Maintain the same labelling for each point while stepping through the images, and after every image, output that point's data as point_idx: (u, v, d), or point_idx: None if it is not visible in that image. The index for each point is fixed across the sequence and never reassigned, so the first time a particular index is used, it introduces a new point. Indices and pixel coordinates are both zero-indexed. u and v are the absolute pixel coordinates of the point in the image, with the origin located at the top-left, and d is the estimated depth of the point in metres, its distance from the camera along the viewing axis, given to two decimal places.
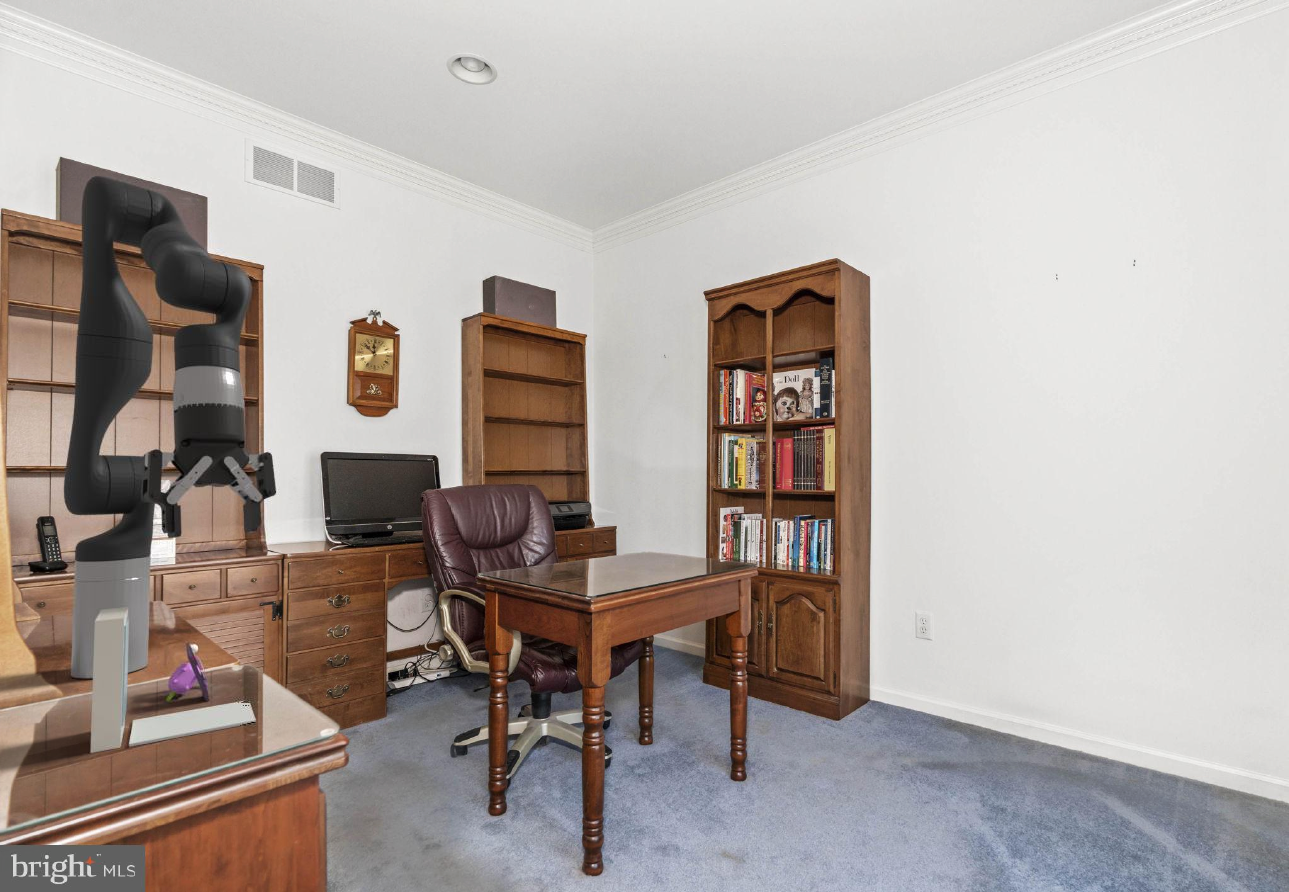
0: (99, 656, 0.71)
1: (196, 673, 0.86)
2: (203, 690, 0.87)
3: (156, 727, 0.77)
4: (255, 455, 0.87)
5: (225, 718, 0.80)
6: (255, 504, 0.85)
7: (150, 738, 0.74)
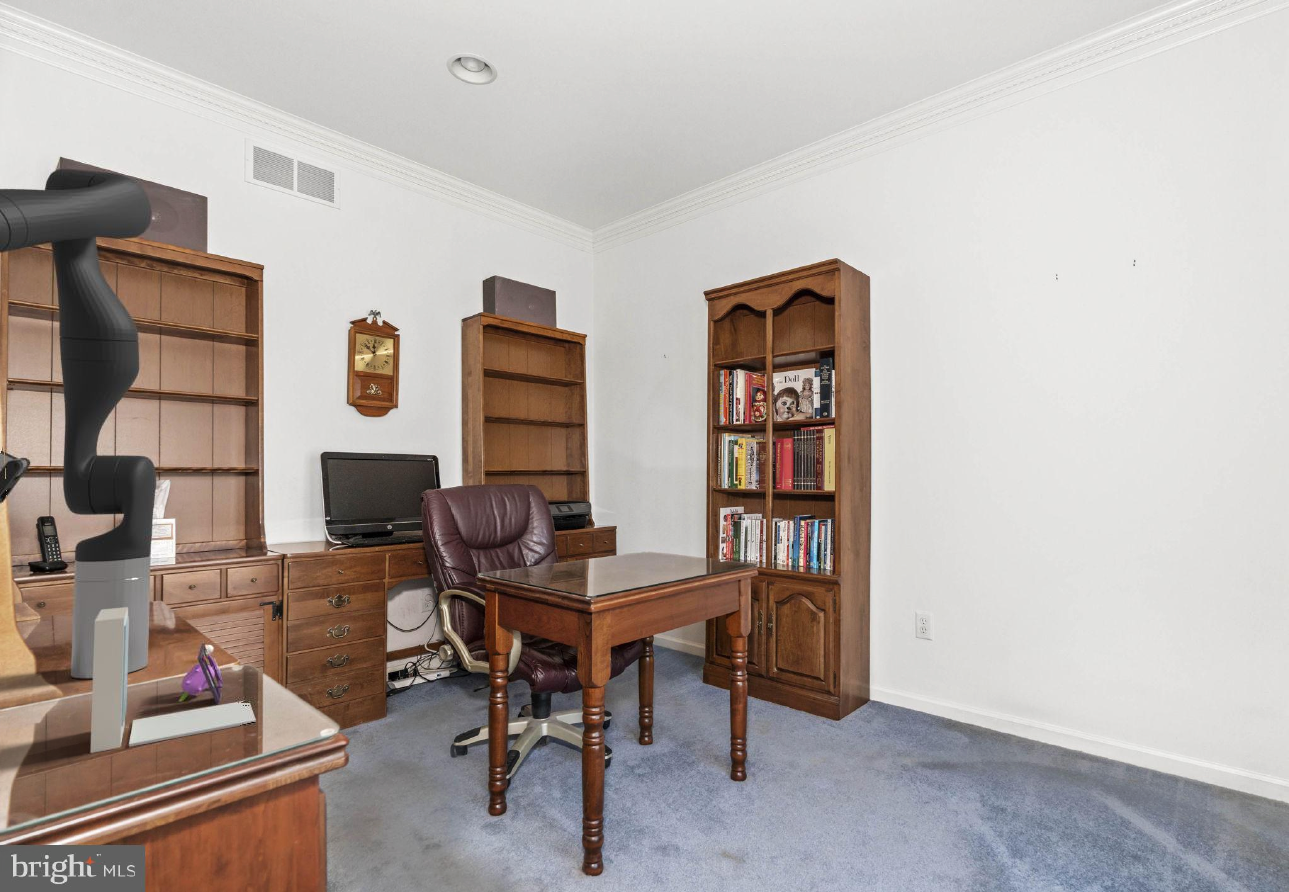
0: (98, 656, 0.71)
1: (206, 675, 0.85)
2: (213, 692, 0.86)
3: (156, 727, 0.77)
4: (6, 456, 0.73)
5: (225, 718, 0.80)
6: None
7: (150, 738, 0.74)
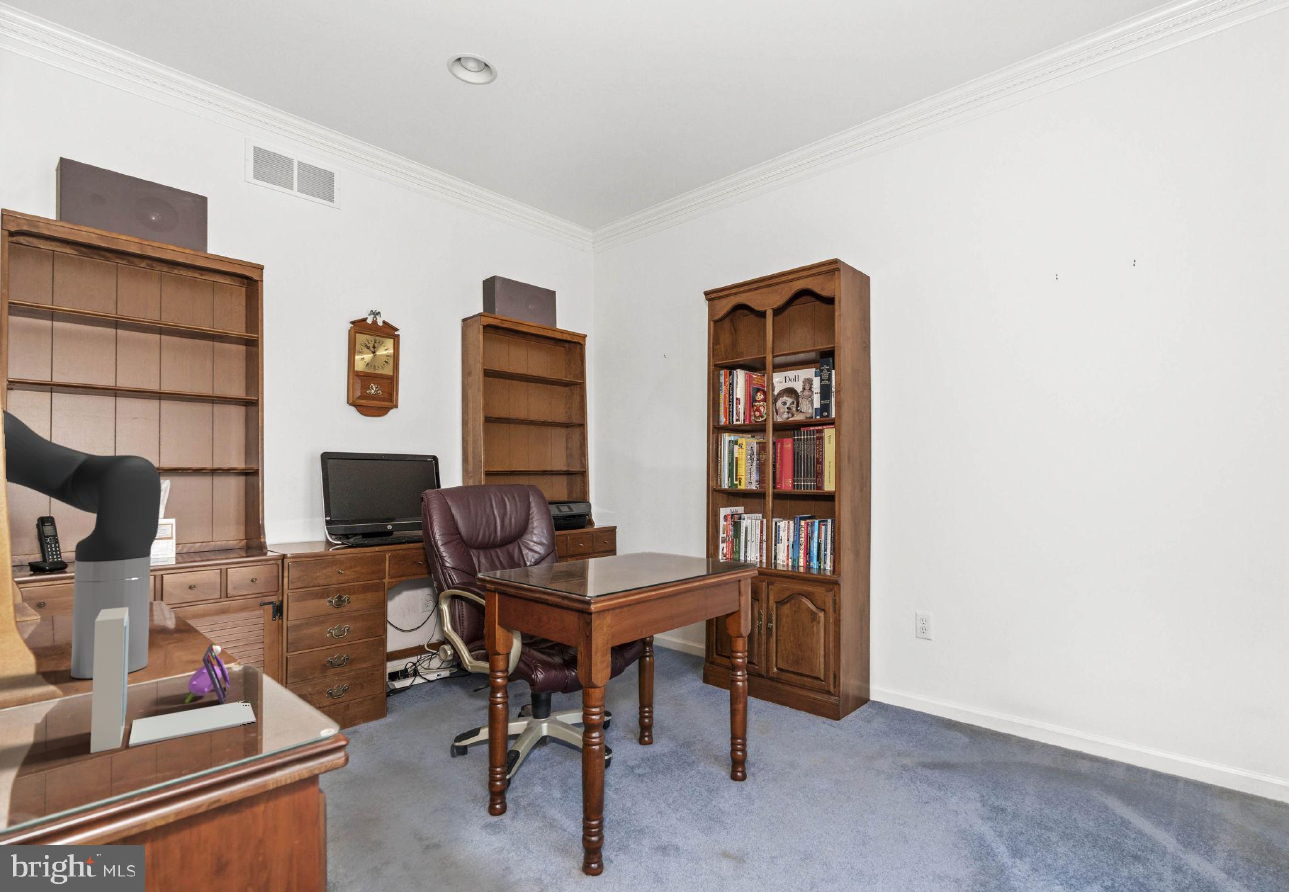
0: (99, 656, 0.71)
1: (211, 676, 0.85)
2: (218, 693, 0.85)
3: (156, 727, 0.77)
4: None
5: (225, 718, 0.80)
6: None
7: (150, 738, 0.74)
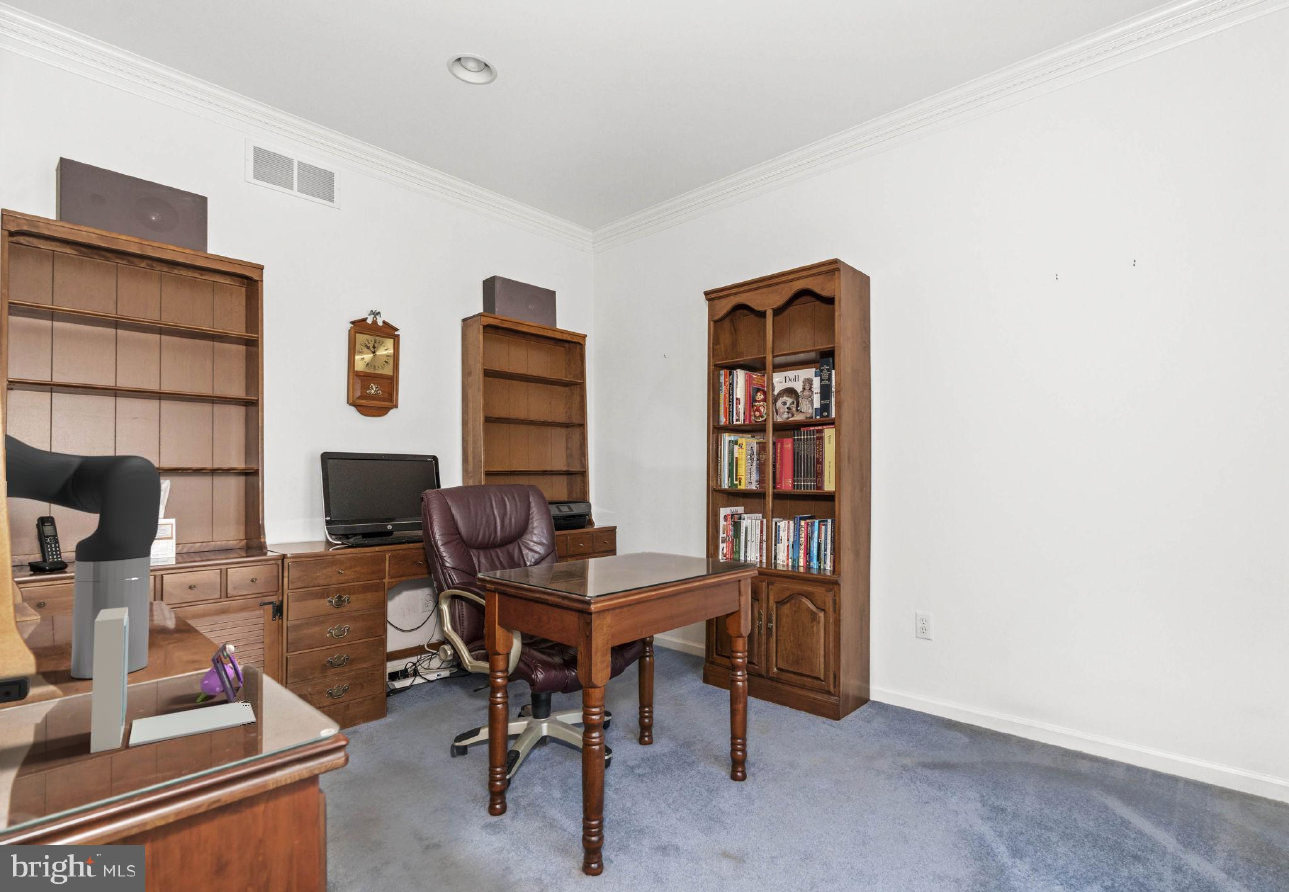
0: (98, 656, 0.71)
1: (220, 676, 0.85)
2: (227, 693, 0.85)
3: (156, 727, 0.77)
4: None
5: (225, 718, 0.80)
6: None
7: (150, 738, 0.74)
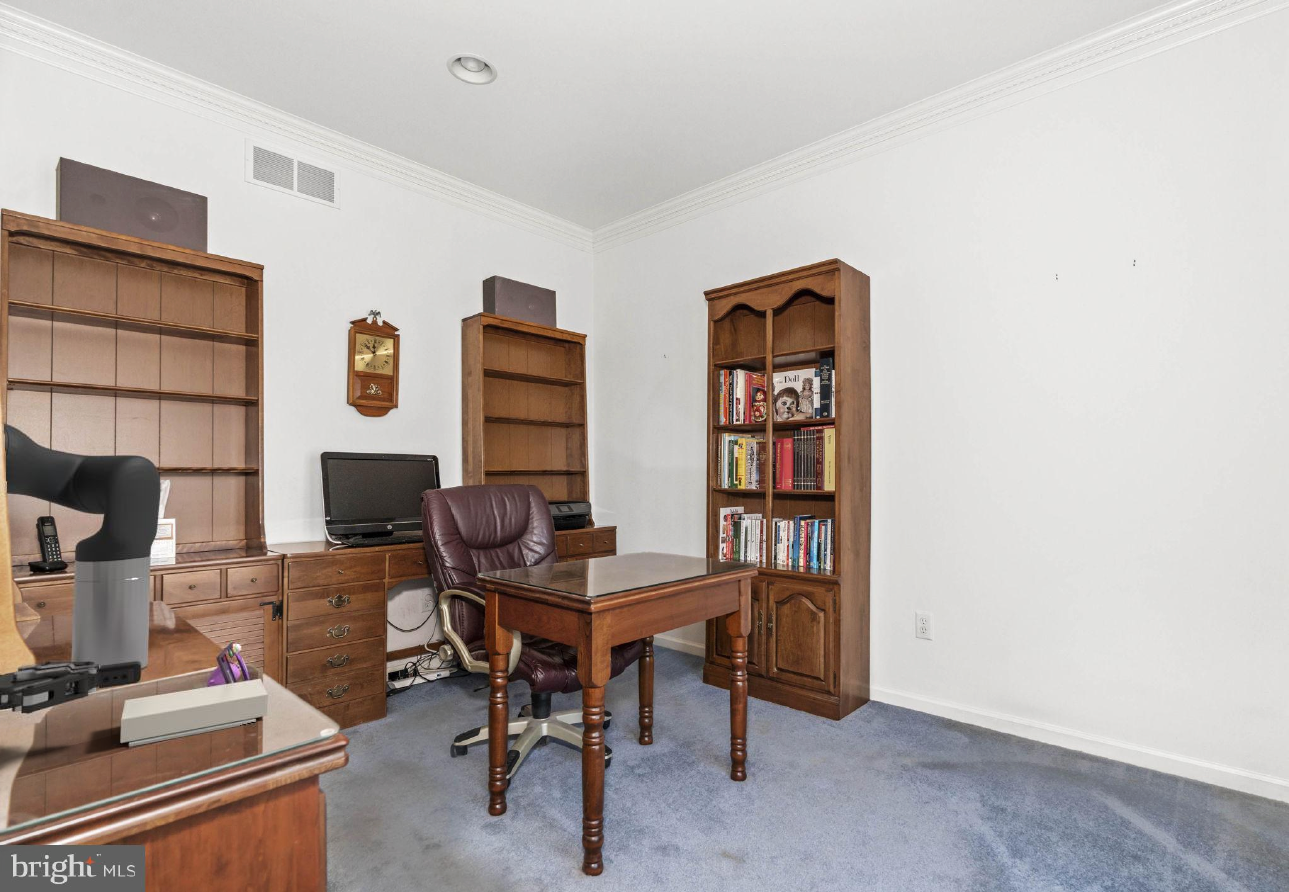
0: (230, 704, 0.78)
1: (224, 675, 0.85)
2: None
3: None
4: (17, 703, 0.67)
5: None
6: (101, 687, 0.74)
7: (150, 738, 0.74)
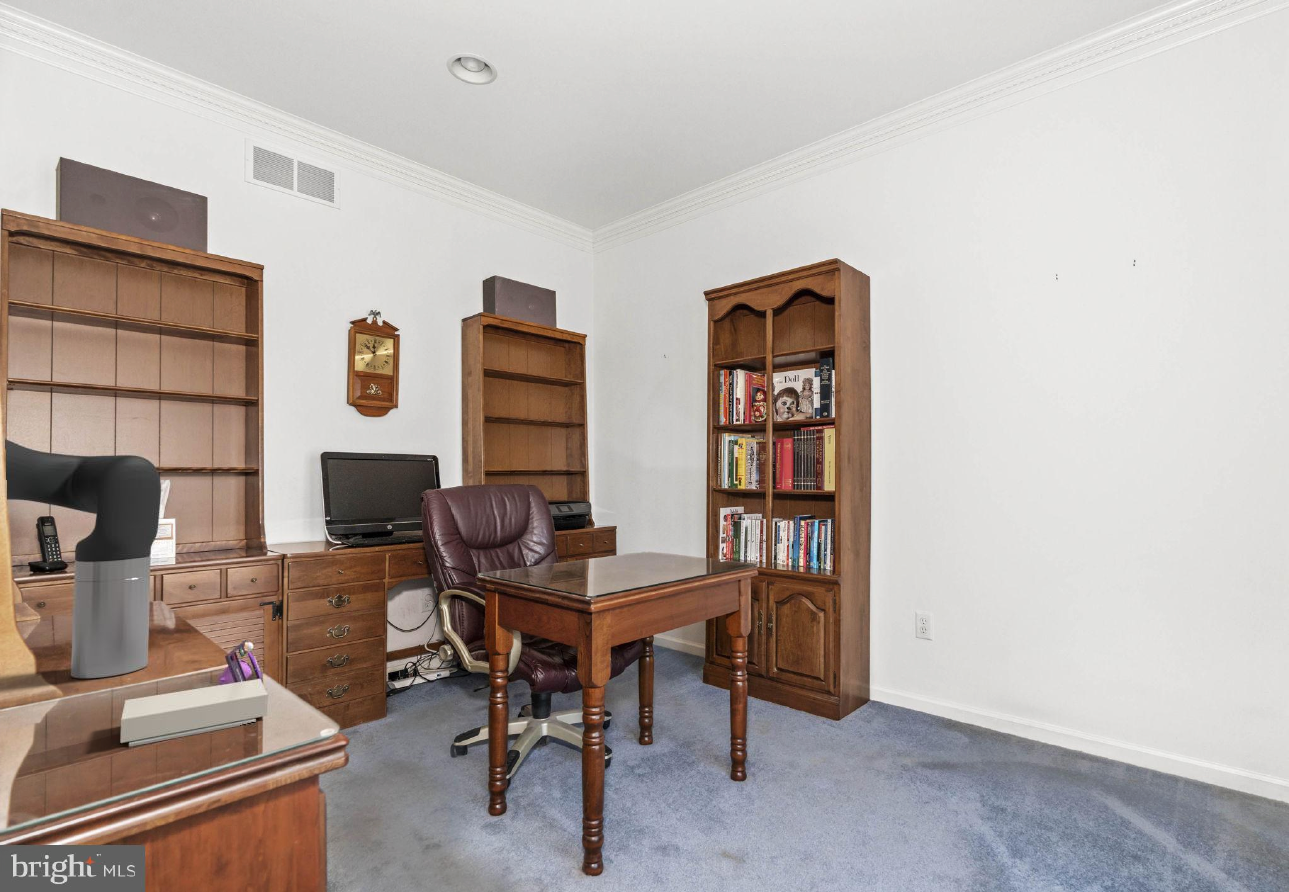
0: (230, 704, 0.78)
1: (233, 674, 0.86)
2: None
3: None
4: None
5: None
6: None
7: (150, 738, 0.74)
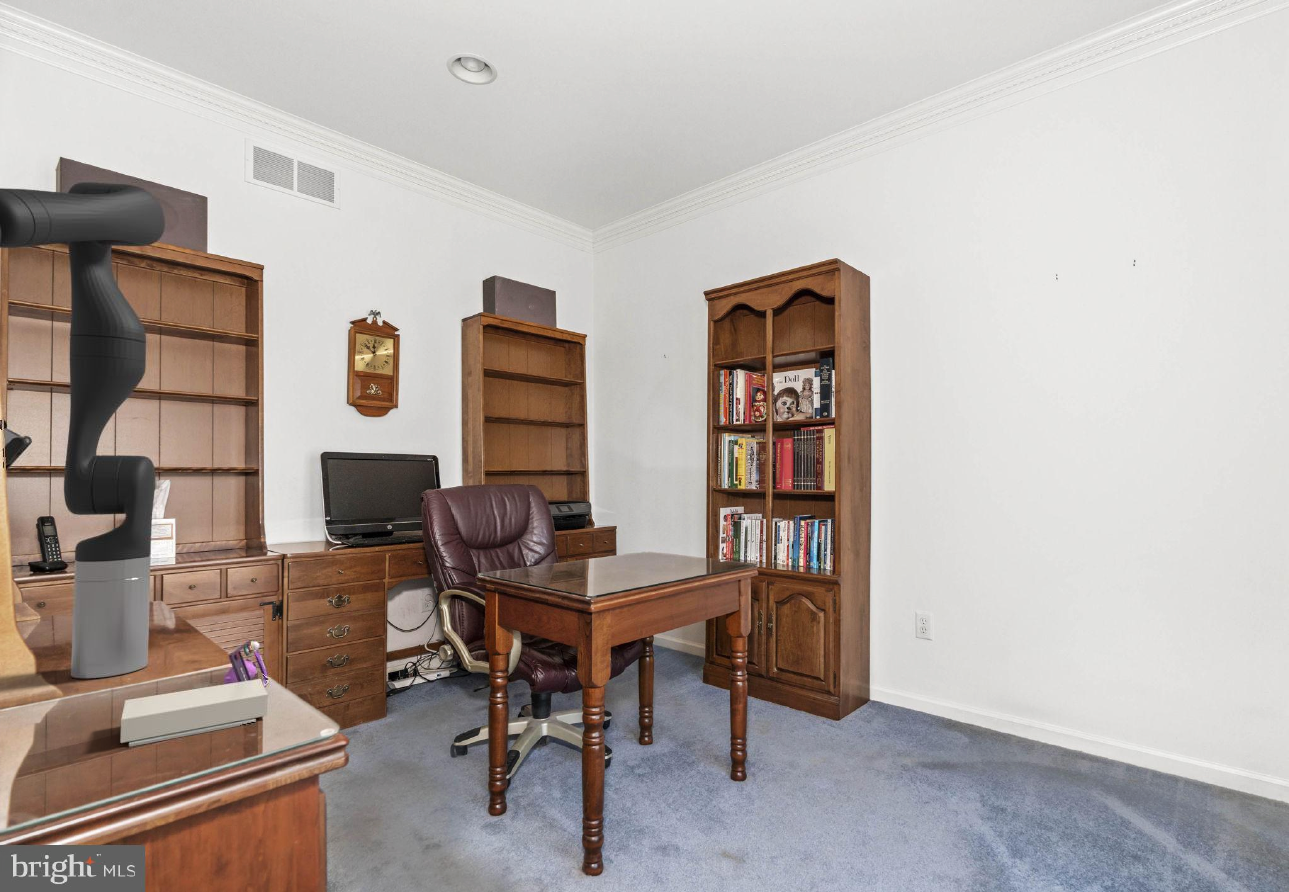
0: (230, 704, 0.78)
1: (236, 673, 0.86)
2: None
3: None
4: (11, 433, 0.77)
5: None
6: None
7: (150, 738, 0.74)
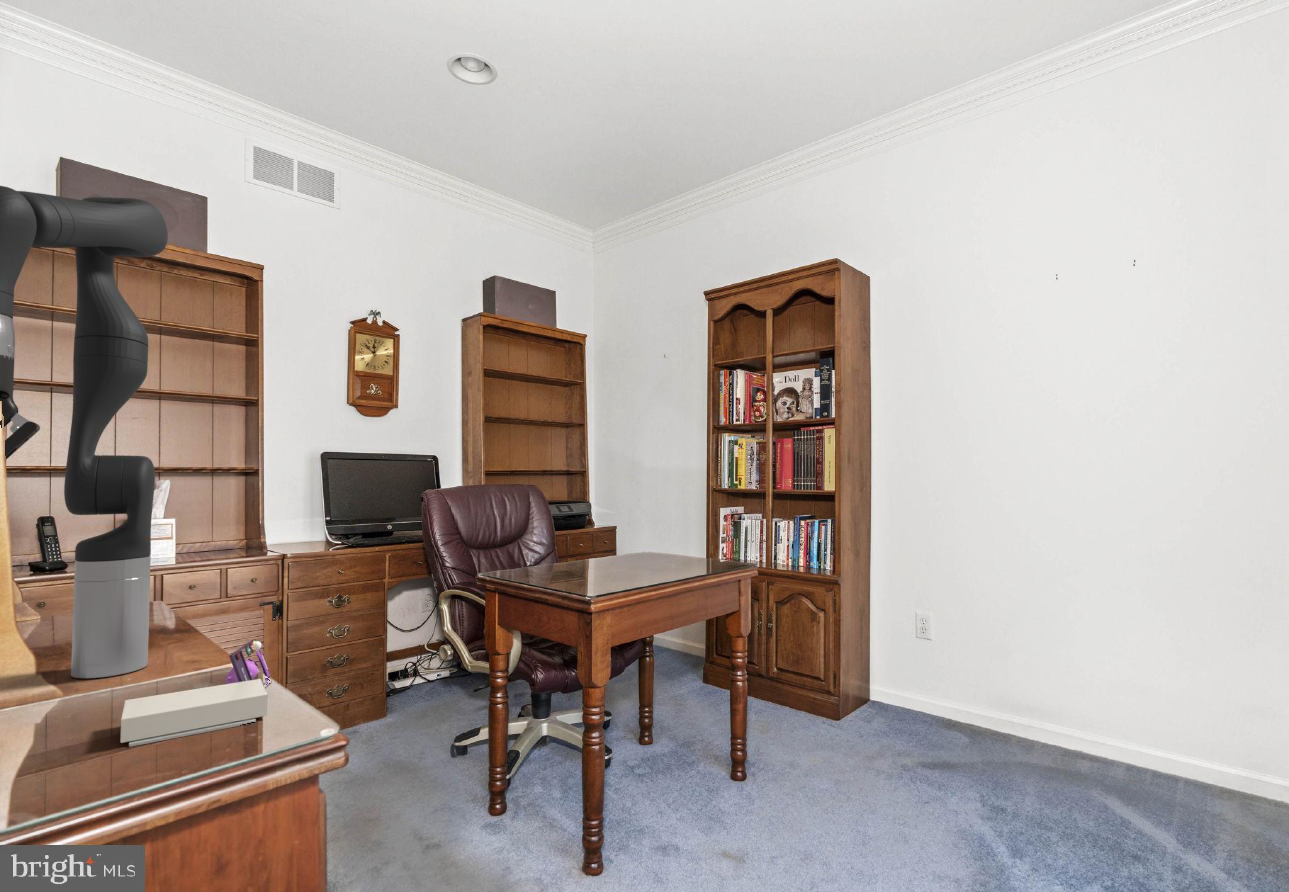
0: (230, 704, 0.78)
1: (237, 673, 0.86)
2: None
3: None
4: (23, 418, 0.79)
5: None
6: None
7: (150, 738, 0.74)
